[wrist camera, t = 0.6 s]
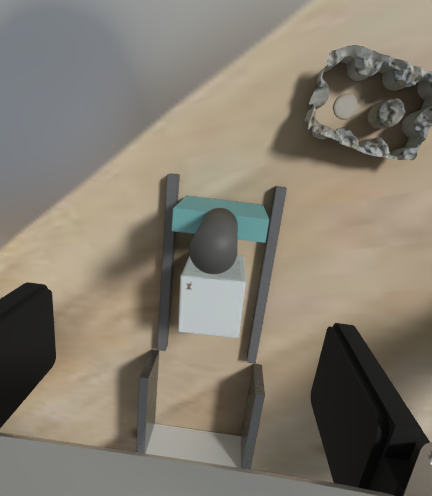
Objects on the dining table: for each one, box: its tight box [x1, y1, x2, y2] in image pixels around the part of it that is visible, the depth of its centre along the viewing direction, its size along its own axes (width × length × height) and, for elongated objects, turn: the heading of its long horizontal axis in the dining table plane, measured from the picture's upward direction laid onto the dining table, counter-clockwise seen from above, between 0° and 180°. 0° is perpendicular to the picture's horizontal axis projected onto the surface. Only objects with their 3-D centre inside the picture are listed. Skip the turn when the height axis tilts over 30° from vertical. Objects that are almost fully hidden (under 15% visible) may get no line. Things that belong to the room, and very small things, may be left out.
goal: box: [136, 350, 265, 469], centre depth 37 cm, size 14×13×8 cm
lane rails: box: [157, 174, 287, 363], centre depth 35 cm, size 12×21×1 cm, turn 174°
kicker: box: [172, 196, 269, 274], centre depth 26 cm, size 8×3×14 cm, turn 84°
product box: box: [178, 255, 246, 338], centre depth 32 cm, size 6×6×7 cm
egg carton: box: [304, 45, 432, 160], centre depth 28 cm, size 11×8×4 cm
